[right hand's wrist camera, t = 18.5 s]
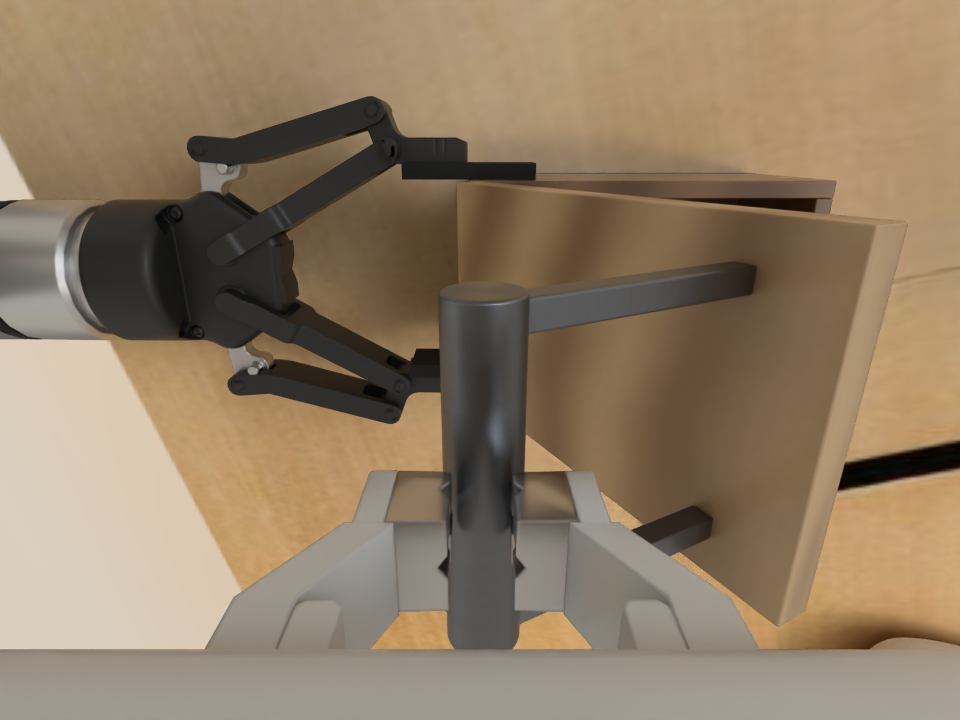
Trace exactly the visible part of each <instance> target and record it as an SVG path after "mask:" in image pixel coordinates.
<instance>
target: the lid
mask: <svg viewBox="0 0 960 720" xmlns="http://www.w3.org/2000/svg"><path fill="white" fill-rule="evenodd" d="M907 226H908V223H907V222H905V221H895V220H885V219H874V218H863V217H853V216H842V215H831V214H821V213H810V212H799V211H789V210H778V209H767V208H757V207H746V206H735V205H725V204H714V203H704V202H693V201H682V200H672V199H661V198H650V197H640V196H629V195H618V194H608V193H597V192H586V191H576V190H565V189H555V188H544V187H533V186H523V185H512V184H501V183H491V182H480V181H472V182H457V231H458V283H457V284H452V285H449V286H446V287H444V288H442V289H441V290H440V291H439V294H438V309H439V345H440V380H441V416H442V452H443V472H451V473H452V506H451V511H452V512H453V550H452V564H451V565H450V579H451V582H450V595H449V608H448V610H447V630H448V638H449V640H450V642H451V644H452V646H453V647H454V649H513V647H514V646H515V644H516V643H517V640H518V638H519V624H521V623H523V622H525V621H528V620H530V619H532V618H534V617H537V616H539V615H541V614H543V613H545V612H548V611H515V608H514V596H513V585H512V566H513V565H512V564H511V558H510V512H511V511H512V509H511V496H510V483H511V473H515V472H524V467H525V436H526V434H527V435H528V436H529V437H531V438H532V439H533V440H535V441H536V442H537V443H539V444H540V445H541V446H542V447H544V448H545V449H546V450H548V451H549V452H550V453H552V454H553V455H554V456H555V457H557V458H558V459H559V460H561V461H562V462H563V463H565V464H566V465H567V466H568V467H570V468H571V469H572V470H574V471H583V470H590V471H592V472H593V474H594V476H595V479H596V482H597V485H598V487H599V490H600V491H601V492H602V493H604V494H605V495H606V496H608V497H609V498H610V499H611V500H613V501H614V502H615V503H617V504H618V505H619V506H621V507H622V508H623V509H624V510H626V511H627V512H628V513H630V514H631V515H632V516H634V517H635V518H636V519H638V520H639V521H640V522H641V523H643V524H644V525H643V526H640V527H638V528H635V529H633V530H631V531H632V532H634V533H635V534H637V535H638V536H640V537H641V538H643V539H644V540H646V541H647V542H649V543H650V544H652V545H653V546H655V547H656V548H658V549H659V550H661V551H662V552H664V553H665V554H667V555H668V556H672V555H674V554H676V553H678V552H680V553H682V554H683V555H684V556H686V557H687V558H688V559H690V560H691V561H692V562H694V563H695V564H696V565H697V566H699V567H700V568H701V569H703V570H704V571H705V572H707V573H708V574H709V575H710V576H712V577H713V578H714V579H716V580H717V581H718V582H720V583H721V584H722V585H723V586H725V587H726V588H727V589H729V590H730V591H731V592H733V593H734V594H735V595H736V596H738V597H739V598H740V599H742V600H743V601H744V602H746V603H747V604H748V605H750V606H751V607H752V608H753V609H755V610H756V611H757V612H759V613H760V614H761V615H763V616H764V617H765V618H766V619H768V620H769V621H770V622H772V623H773V624H774V625H776V626H778V627H779V626H781V625H782V624H784V623H786V622H787V621H789V620H791V619H792V618H794V617H796V616H797V615H799V614H801V613H802V612H804V611H805V610H806V606H807V602H808V598H809V595H810V591H811V587H812V583H813V580H814V576H815V572H816V568H817V565H818V561H819V557H820V553H821V550H822V546H823V542H824V538H825V535H826V531H827V527H828V523H829V520H830V516H831V512H832V508H833V504H834V501H835V497H836V493H837V489H838V486H839V482H840V478H841V474H842V471H843V467H844V463H845V459H846V456H847V452H848V448H849V444H850V441H851V437H852V433H853V429H854V425H855V422H856V418H857V414H858V410H859V407H860V403H861V399H862V395H863V392H864V388H865V384H866V380H867V377H868V373H869V369H870V365H871V362H872V358H873V354H874V350H875V347H876V343H877V339H878V335H879V331H880V328H881V324H882V320H883V316H884V313H885V309H886V305H887V301H888V298H889V294H890V290H891V286H892V283H893V279H894V275H895V271H896V268H897V264H898V260H899V256H900V252H901V249H902V245H903V241H904V237H905V234H906V230H907Z"/></svg>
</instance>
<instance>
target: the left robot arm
mask: <svg viewBox="0 0 960 720" xmlns="http://www.w3.org/2000/svg"><path fill="white" fill-rule="evenodd" d="M366 131H369V134H370V136H371V139H372V141H373V144H372V145H370V146H369V147H367V148H366V149H364V150H362V151H361V152H359V153H358V154H356V155H354V156H353V157H351V158H350V159H348V160H346V161H345V162H343V163H342V164H340V165H338V166H337V167H335V168H334V169H332V170H330V171H329V172H327V173H326V174H324V175H322V176H321V177H319V178H318V179H316V180H314V181H313V182H311V183H310V184H308V185H307V186H305V187H303V188H302V189H300V190H299V191H297V192H295V193H294V194H292V195H291V196H289V197H287V198H286V199H284V200H283V201H281V202H279V203H278V204H276V205H274V206H272V207H270V208H268V209H266V210H264V211H263V212H261V213H259V212H257V211H256V210H255V209H253V208H252V207H250V206H249V205H247V204H246V203H244V202H243V201H241V200H240V199H238V198H237V197H235V196H234V195H233V194H231V193H229V186H230V184H231V183H232V182H233V181H234V180H238V179H242V178H244V177H245V175H246V174H247V164H253V163H263V162H267V161H271V160H274V159H277V158H281V157H284V156H287V155H291V154H294V153H297V152H300V151H304V150H307V149H310V148H313V147H317V146H320V145H323V144H326V143H330V142H333V141H336V140H339V139H343V138H346V137H349V136H353V135H356V134H359V133H362V132H366ZM187 150H188V153H189V155H190V156H191V158H193V159H194V160H195V161H198V162H199V168H200V179H201V190H202V192H200V193H198V194H196V195H195V196H194V197H192V198H190V199H188V200H113V201H109V202H105V201H102V200H9V201H0V339H68V340H116V339H119V338H123V339H127V340H208V341H212V342H214V343H217V344H219V345H221V346H223V347H225V348H228V351H229V355H230V359H231V363H232V367H233V371H234V375H233V376H232V377H231V378H230V379H229V381H228V388H229V390H230V391H231V392H232V393H233V394H235V395H256V394H273V395H277V396H281V397H285V398H289V399H293V400H297V401H301V402H305V403H309V404H313V405H316V406H320V407H324V408H328V409H332V410H336V411H340V412H344V413H348V414H352V415H356V416H360V417H364V418H368V419H372V420H376V421H380V422H384V423H388V424H393V423H396V422H397V421H399V419H400V417H401V414H402V411H403V408H404V405H405V402H406V400H407V398H408V397H409V396H410V395H411V394H413V393H416V392H441V380H440V349H416V352H415V355H414V357H413V358H411V361H408V360H406V359H404V358H402V357H400V356H398V355H397V354H395V353H393V352H391V351H389V350H387V349H385V348H383V347H381V346H379V345H377V344H375V343H373V342H371V341H369V340H368V339H366V338H364V337H362V336H360V335H358V334H356V333H354V332H352V331H350V330H348V329H346V328H344V327H342V326H341V325H339V324H337V323H335V322H333V321H331V320H329V319H327V318H325V317H323V316H321V315H319V314H318V313H316V312H315V310H314V309H313V308H312V307H311V306H309V305H307V304H305V303H303V302H301V301H299V300H297V299H296V297H297V296H299V291H298V282H297V279H296V277H295V274H294V272H293V269H292V266H293V259H294V248H293V240H289V239H288V237H287V235H286V232H288V231H289V230H291V229H293V228H294V227H296V226H298V225H299V224H301V223H303V222H304V221H305V220H307V219H308V218H310V217H311V216H313V215H315V214H316V213H318V212H319V211H321V210H323V209H324V208H326V207H328V206H329V205H331V204H333V203H334V202H336V201H337V200H339V199H341V198H342V197H344V196H346V195H347V194H349V193H351V192H352V191H354V190H355V189H357V188H359V187H360V186H362V185H364V184H365V183H367V182H369V181H370V180H372V179H373V178H375V177H377V176H378V175H380V174H382V173H383V172H385V171H387V170H388V169H390V168H391V167H393V166H395V165H396V164H402V179H536V163H533V162H468V149H467V142H465V141H463V140H460V139H458V138H408V137H405V136H404V135H402V134H401V133H400V131H399V130H398V128H397V126H396V123H395V120H394V118H393V115H392V109H391V107H390V106H389V105H388V104H387V103H386V102H384V101H382V100H380V99H378V98H376V97H373V96H369V97H365V98H361V99H358V100H355V101H352V102H349V103H345V104H342V105H339V106H336V107H333V108H329V109H326V110H323V111H320V112H317V113H314V114H310V115H307V116H304V117H301V118H298V119H294V120H291V121H288V122H285V123H282V124H278V125H275V126H272V127H269V128H266V129H262V130H259V131H256V132H253V133H250V134H247V135H243V136H240V137H237V138H227V137H211V136H193V137H192V138H190V139H189V141H188V143H187ZM262 332H264V333H266V334H268V335H270V336H272V337H274V338H276V339H278V340H280V341H282V342H285V343H294V344H297V345H299V346H301V347H303V348H305V349H307V350H309V351H311V352H313V353H315V354H317V355H319V356H321V357H323V358H325V359H327V360H329V361H331V362H333V363H335V364H337V365H339V366H341V367H343V368H345V369H347V370H349V371H351V372H352V373H354V374H356V375H358V376H360V377H362V378H364V379H366V380H364V379H360V378H356V377H352V376H349V375H345V374H341V373H337V372H333V371H329V370H325V369H322V368H318V367H314V366H310V365H306V364H302V363H298V362H294V361H289V360H281V359H273V355H272V354H271V353H269V352H264V351H259V350H257V349H256V348H254V346H253V345H252V343H251V340H253V339H254V338H255V337H257V336H258V335H259V334H260V333H262Z"/></svg>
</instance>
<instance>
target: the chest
mask: <svg viewBox="0 0 960 720" xmlns="http://www.w3.org/2000/svg"><path fill="white" fill-rule="evenodd" d="M472 181H480V182H491V183H501V184H512V185H523V186H533V187H544V188H555V189H565V190H576V191H586V192H597V193H608V194H618V195H629V196H640V197H650V198H661V199H672V200H682V201H693V202H704V203H714V204H725V205H735V206H746V207H757V208H767V209H778V210H789V211H799V212H810V213H821V214H830V209H831V204H832V199H831V198H833V196H834V191H835V186H836V181H832V180H820V179H809V178H797V177H785V176H774V175H762V174H754V173H536V179H470V180H469V181H468V182H472Z"/></svg>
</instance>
